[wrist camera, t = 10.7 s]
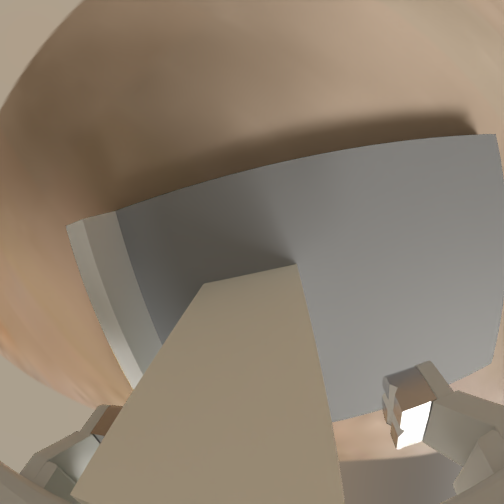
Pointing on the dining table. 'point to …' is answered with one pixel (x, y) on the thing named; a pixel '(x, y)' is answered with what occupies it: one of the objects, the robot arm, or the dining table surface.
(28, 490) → the robot arm
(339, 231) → the grey panel white edge
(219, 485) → the carton
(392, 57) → the dining table surface
